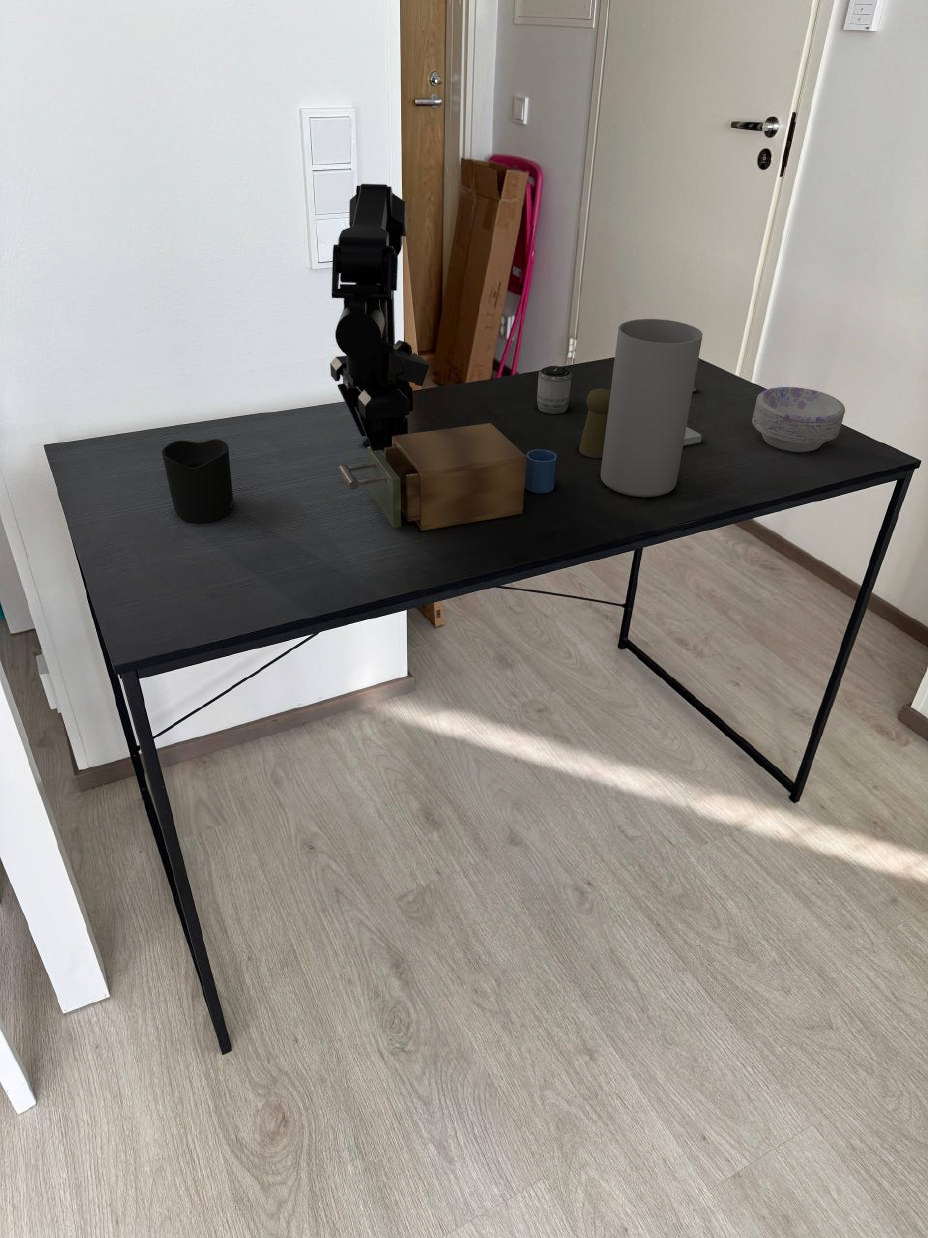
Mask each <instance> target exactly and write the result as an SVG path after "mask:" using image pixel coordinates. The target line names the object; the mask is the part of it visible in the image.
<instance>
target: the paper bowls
mask: <svg viewBox="0 0 928 1238" xmlns="http://www.w3.org/2000/svg"><path fill="white" fill-rule="evenodd" d="M845 413H846V408H845V405H844V403H842V401H841V400H839V398H836V397H835V396H833V395H831V394H828V393H827V392H826V393H825V392H822V391H819V390H816V389H811V388H807V387H797V386H778V387H771V388H768V389H765V390H763V391H760V393H759V394H758V395H757V397H756V401H755V406H754V410H753V415H752V419H751V422H752V426H753V427H754V428H755V429H756V430H757V431H758V432H759V433H761V436H762V439H763V440H764V442H766V443H767V444H768V445H770V446H772V447H773V448H776V449H779V450H782V451H786V452H791V453H807V452H813V451H815V450H817V449H819V448H821V446H822V445H823V444H824V443H826V442H830V441H833V440H834V439H836V438H837V437H838V436H839V434H840V432H841V427H842V424H843V421H844V416H845Z"/></svg>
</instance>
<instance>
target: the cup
mask: <svg viewBox="0 0 928 1238" xmlns="http://www.w3.org/2000/svg"><path fill="white" fill-rule="evenodd" d="M525 455H526V456H527V458H526V472H525V486H524V489H525V490H527V491H529V492H531V493H534V494H548V493H551V492H552V491H554V489H555V486H556V476H557V467H558V455H557V454H556V452H554V451H552V450H549V449H543V448H539V449H532V450H529V451H527V453H526V454H525Z"/></svg>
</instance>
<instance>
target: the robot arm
mask: <svg viewBox="0 0 928 1238" xmlns="http://www.w3.org/2000/svg"><path fill="white" fill-rule="evenodd" d="M348 204H349V210H348V211H349V212H348V226H349V227H347V228H345V229H342V230H341V231H340V233H339V236H338V239H337V244H333V246H332V267H331V268H332V269H331V299H343V309H342V312H341V315H340V317H339V320H338V322H337V325H336V329H335V335H334V336H335V337H334V338H335V341H336V344H337V346H338V348H339V349H340V351H341V353H344V354H345V355H340V356H335V357H334V358H333V359H332V360H331V362H330V363H329V367H330V376H331V378H332V379H333V380H334V382H340V380H341V378H342V383H338V384H337V386H336V387H337V389H338V390H339V393H340V394H341V397H342V398H343V400H344V402H345V403H344V404H345V405H346V407H347V409H348V411H349V413H350V415H351V417H352V419H353V421H354V424H355V426H356V429H357V430H358V432H359V434H360V436H361V437H366V439H365V440H364V441H363V442H362V446H364V447H368V446H371V449H372V450H373V451H376V450H378V451H380V450H384V448H385V447H392V436H397V435H404V434H409V418H408V417H407V416H409V415H410V413H411V412H413V411H414V393H413V390H414V389H413V387H412V385H410V383H413V384H414V385H415V386H417V387H423V386H424V383H425V380H426V376H427V374H428V371H429V368H430V363H429V362H427V360H425V359H424V358H423V357H422V356H420V355H418V354H417V353H416V352H413V349H412V347H413V346H412V345H411V344H410V343H409V342H408V341H404V340H401V339H398V340H397V341H396V331H395V330H396V325H395V322H396V321H395V292H396V291H398V273H399V272H398V269H399V255H400V253H401V252H402V247H403V243H404V237H407V234H408V233H407V232H408V214H407V206H406V201H405V200H403V199H402V198H400V197H399V196H398V195H396V193H394V192H393V189H392V186H389V185H388V184H387V183H386V184H383V183H361V184H360V185H356V188H355V195H354V196H352V197H351V198H350V199H349V203H348ZM340 282H341V283H340Z"/></svg>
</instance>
